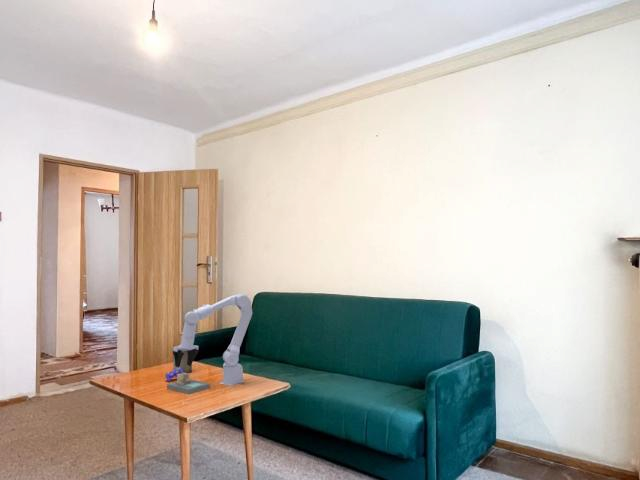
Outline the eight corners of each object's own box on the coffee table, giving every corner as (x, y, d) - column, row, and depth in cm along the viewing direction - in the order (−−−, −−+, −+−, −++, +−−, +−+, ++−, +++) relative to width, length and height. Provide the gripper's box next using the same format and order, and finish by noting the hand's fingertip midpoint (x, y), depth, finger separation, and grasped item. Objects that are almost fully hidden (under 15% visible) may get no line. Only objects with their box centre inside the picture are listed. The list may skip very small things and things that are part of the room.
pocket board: (188, 383, 209) (188, 378, 209) (209, 389, 200) (209, 383, 200) (166, 389, 199) (167, 383, 200) (188, 395, 190) (188, 389, 190)
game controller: (166, 377, 207) (160, 370, 215) (170, 392, 209) (164, 383, 217) (186, 368, 212) (179, 361, 220) (190, 383, 215) (183, 375, 223)
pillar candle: (193, 370, 238) (193, 343, 239) (189, 374, 228) (189, 346, 229) (175, 370, 237) (176, 343, 238) (170, 375, 227) (171, 346, 228)
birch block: (184, 385, 205) (184, 372, 205) (189, 386, 203) (189, 373, 203) (176, 387, 202) (177, 374, 202) (182, 388, 199) (182, 375, 200)
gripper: (192, 335, 211) (188, 363, 210) (170, 335, 199) (165, 365, 197) (203, 337, 208) (198, 365, 206) (181, 338, 195) (176, 368, 194)
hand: (183, 366), depth 201 cm, fingers open, 7 cm apart
